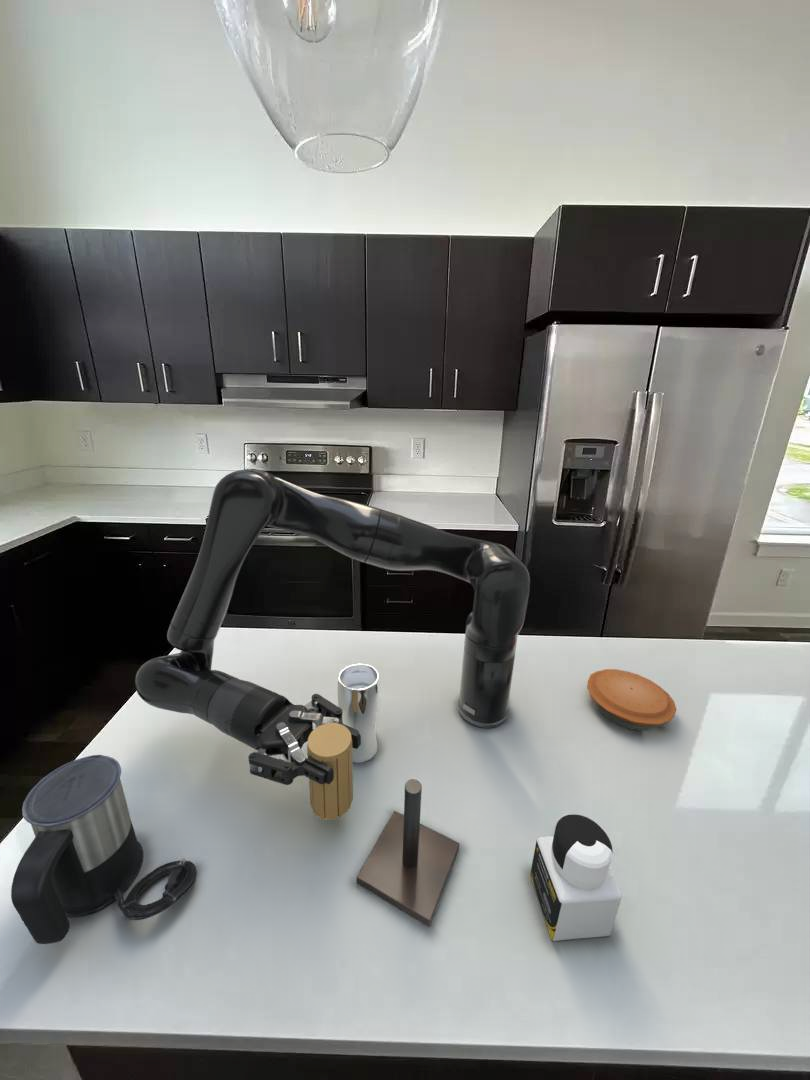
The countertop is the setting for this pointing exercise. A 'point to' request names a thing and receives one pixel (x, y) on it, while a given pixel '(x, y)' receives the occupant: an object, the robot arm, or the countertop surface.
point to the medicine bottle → (575, 880)
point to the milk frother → (85, 852)
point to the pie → (630, 699)
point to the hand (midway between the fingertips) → (346, 758)
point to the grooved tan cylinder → (336, 752)
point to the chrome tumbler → (360, 706)
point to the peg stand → (410, 861)
